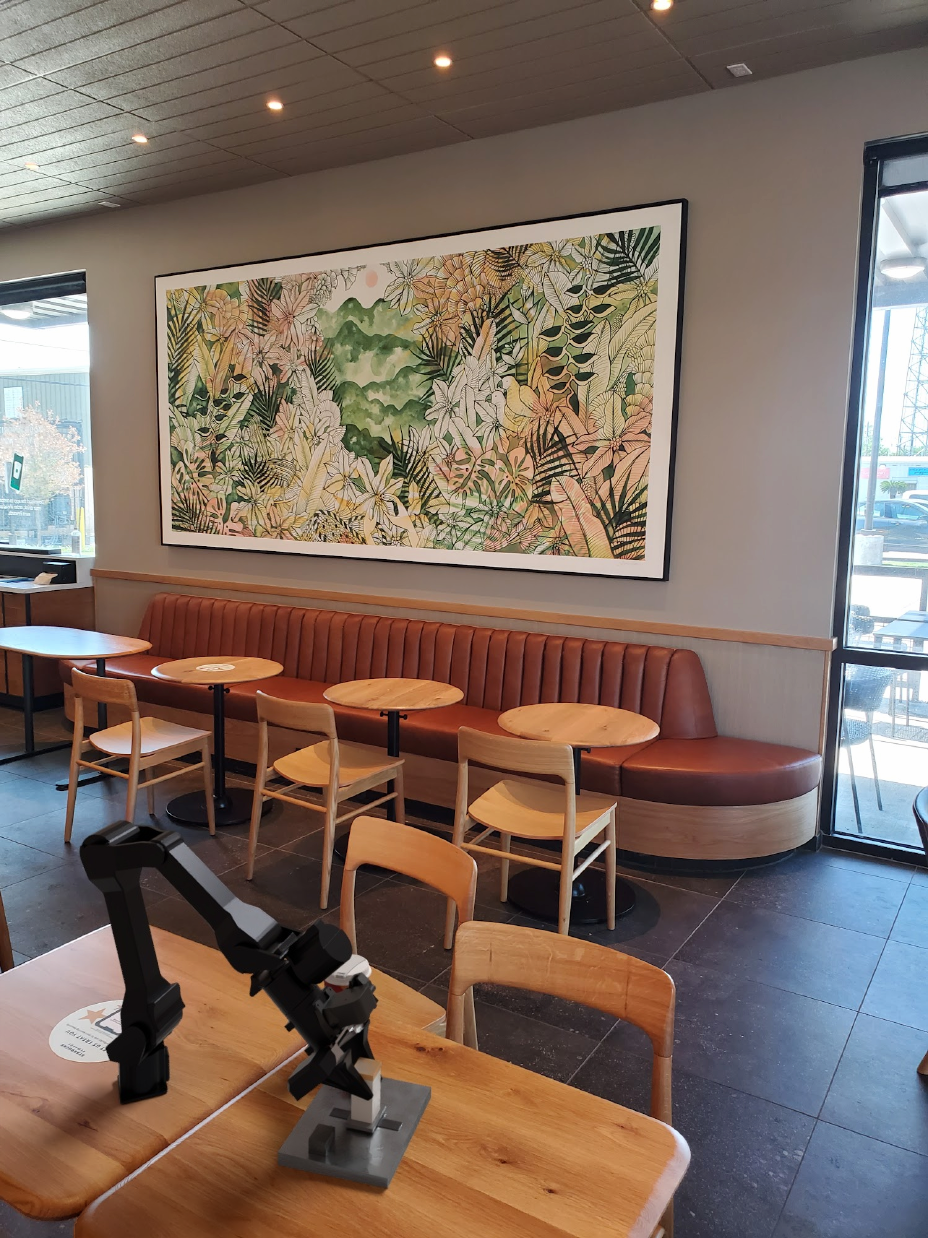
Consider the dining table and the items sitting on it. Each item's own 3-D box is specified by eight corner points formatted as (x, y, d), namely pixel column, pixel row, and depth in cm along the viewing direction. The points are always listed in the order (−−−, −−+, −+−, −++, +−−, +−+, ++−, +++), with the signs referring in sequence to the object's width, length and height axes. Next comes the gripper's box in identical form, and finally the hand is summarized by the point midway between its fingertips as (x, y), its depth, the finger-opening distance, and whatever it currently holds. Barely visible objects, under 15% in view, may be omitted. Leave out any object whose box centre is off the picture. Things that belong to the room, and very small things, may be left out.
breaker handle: (344, 1126, 117) (345, 1075, 116) (358, 1102, 122) (359, 1052, 121) (372, 1133, 116) (373, 1081, 115) (386, 1108, 121) (386, 1058, 120)
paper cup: (363, 1067, 133) (362, 979, 131) (315, 1061, 134) (313, 974, 133) (378, 1037, 141) (377, 954, 139) (332, 1032, 142) (331, 949, 141)
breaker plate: (277, 1166, 113) (277, 1138, 113) (334, 1079, 130) (334, 1054, 130) (387, 1193, 109) (387, 1164, 109) (430, 1100, 126) (431, 1074, 126)
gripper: (309, 1005, 109) (392, 1105, 107) (366, 935, 126) (437, 1020, 125) (252, 1052, 112) (332, 1150, 110) (315, 977, 130) (384, 1060, 128)
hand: (375, 1090), depth 118 cm, fingers closed on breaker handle, 3 cm apart
